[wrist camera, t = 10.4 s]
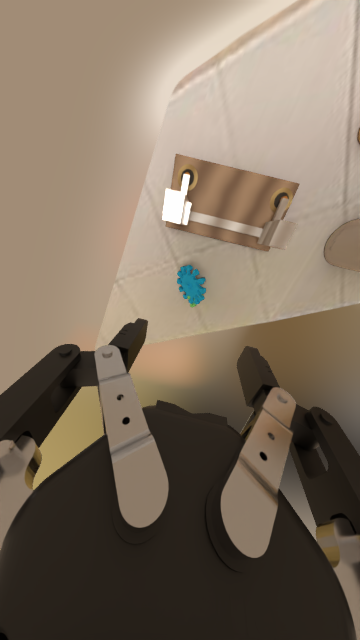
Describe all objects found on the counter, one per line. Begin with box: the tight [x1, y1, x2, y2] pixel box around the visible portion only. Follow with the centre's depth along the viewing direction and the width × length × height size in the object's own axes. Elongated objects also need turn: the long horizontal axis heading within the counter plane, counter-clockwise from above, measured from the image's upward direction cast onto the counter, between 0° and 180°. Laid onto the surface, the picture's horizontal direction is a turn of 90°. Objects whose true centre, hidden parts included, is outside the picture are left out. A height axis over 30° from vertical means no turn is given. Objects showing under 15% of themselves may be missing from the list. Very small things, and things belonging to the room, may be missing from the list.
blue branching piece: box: [177, 265, 206, 307], centre depth 41 cm, size 11×6×10 cm
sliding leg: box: [162, 172, 192, 225], centre depth 28 cm, size 4×8×10 cm, turn 168°
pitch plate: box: [166, 154, 299, 251], centre depth 30 cm, size 24×12×10 cm, turn 78°
